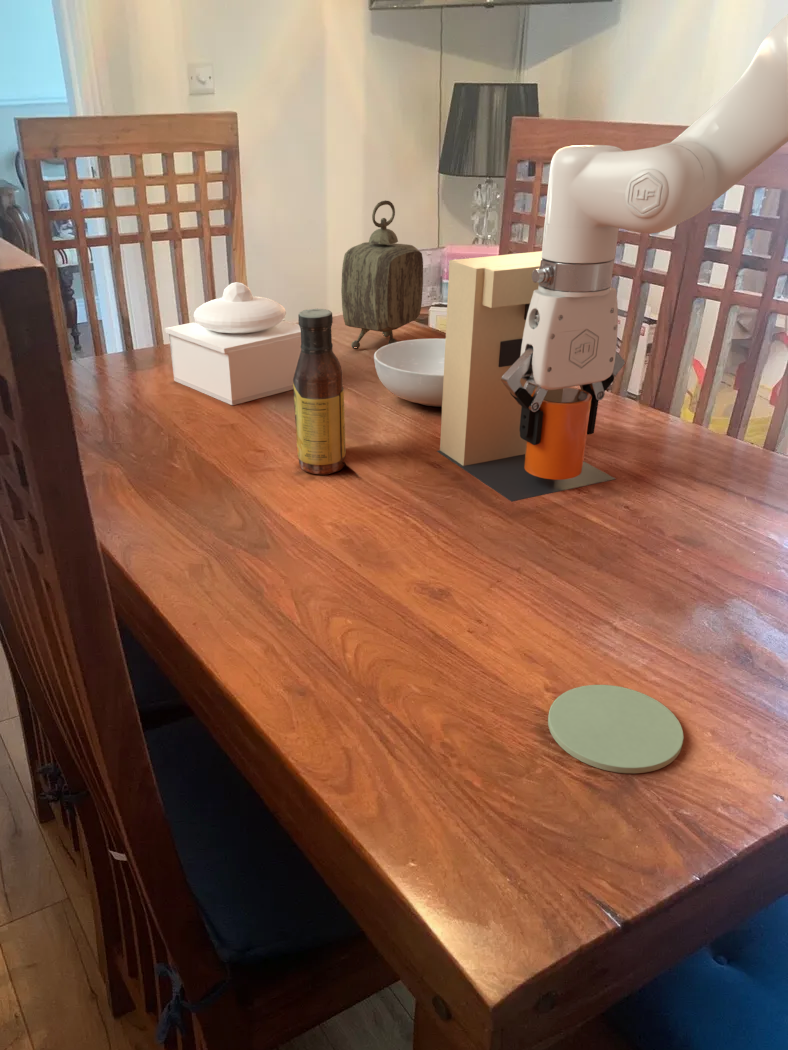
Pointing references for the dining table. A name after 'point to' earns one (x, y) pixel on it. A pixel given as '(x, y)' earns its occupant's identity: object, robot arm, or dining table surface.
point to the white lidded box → (236, 347)
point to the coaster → (615, 729)
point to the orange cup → (560, 435)
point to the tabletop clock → (381, 282)
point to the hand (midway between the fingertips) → (556, 434)
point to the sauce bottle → (319, 397)
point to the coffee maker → (491, 375)
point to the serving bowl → (413, 370)
